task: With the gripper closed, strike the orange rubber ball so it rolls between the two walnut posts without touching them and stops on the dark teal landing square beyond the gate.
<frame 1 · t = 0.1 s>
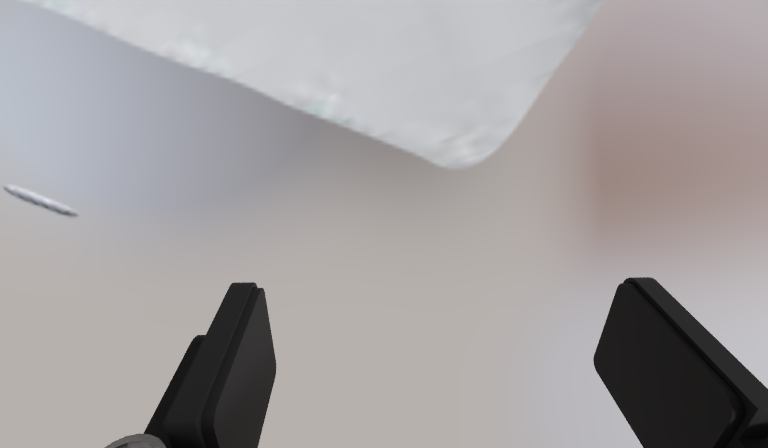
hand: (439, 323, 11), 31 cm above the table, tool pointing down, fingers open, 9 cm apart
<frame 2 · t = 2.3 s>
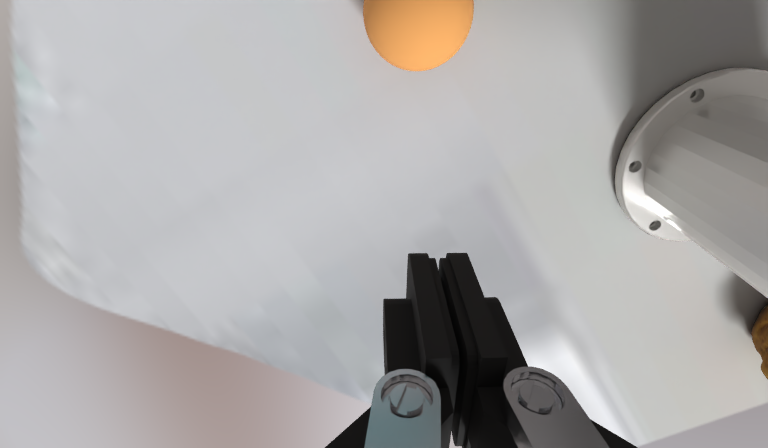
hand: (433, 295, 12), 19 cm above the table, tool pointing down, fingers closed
ball: (417, 12, 23), on the table
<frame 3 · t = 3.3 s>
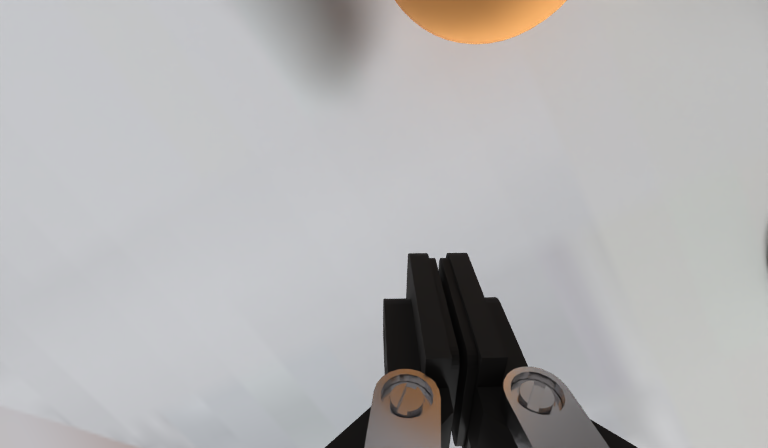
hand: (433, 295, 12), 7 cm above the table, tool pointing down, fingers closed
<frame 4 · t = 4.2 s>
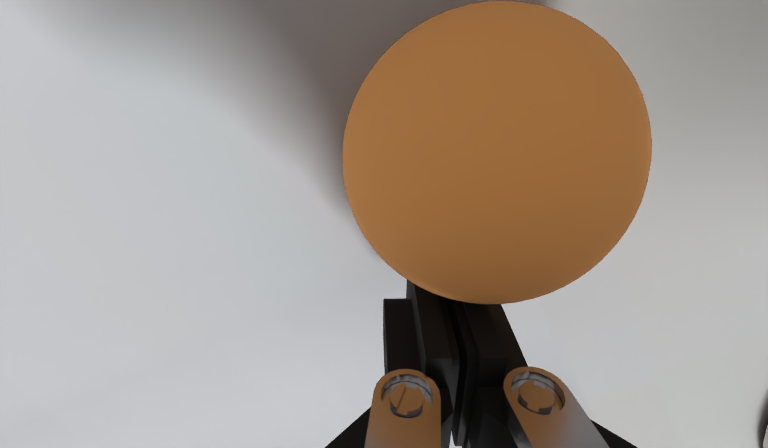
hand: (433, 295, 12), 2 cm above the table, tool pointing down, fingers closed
ball: (483, 160, 9), on the table, touching gripper
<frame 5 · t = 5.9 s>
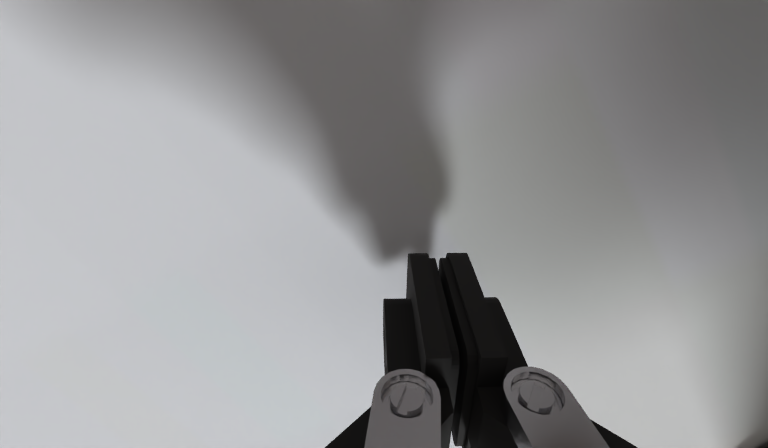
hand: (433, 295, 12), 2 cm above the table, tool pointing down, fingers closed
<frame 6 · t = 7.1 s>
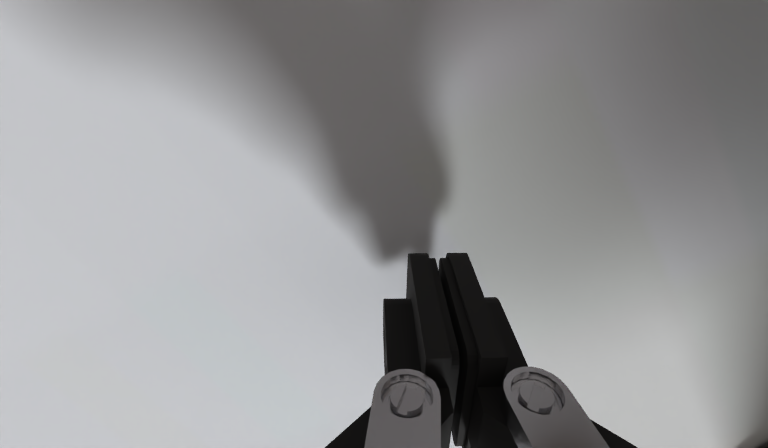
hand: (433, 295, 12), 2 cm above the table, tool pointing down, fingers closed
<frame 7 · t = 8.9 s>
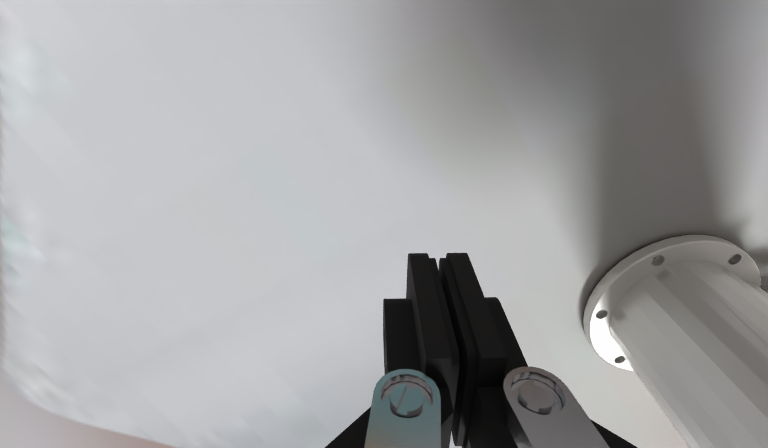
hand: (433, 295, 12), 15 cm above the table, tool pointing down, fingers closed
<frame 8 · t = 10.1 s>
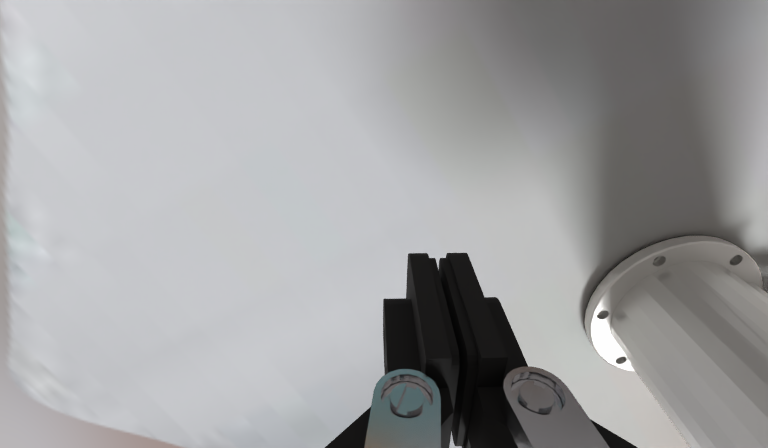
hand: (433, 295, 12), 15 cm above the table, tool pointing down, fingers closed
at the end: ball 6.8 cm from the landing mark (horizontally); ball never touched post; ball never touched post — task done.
